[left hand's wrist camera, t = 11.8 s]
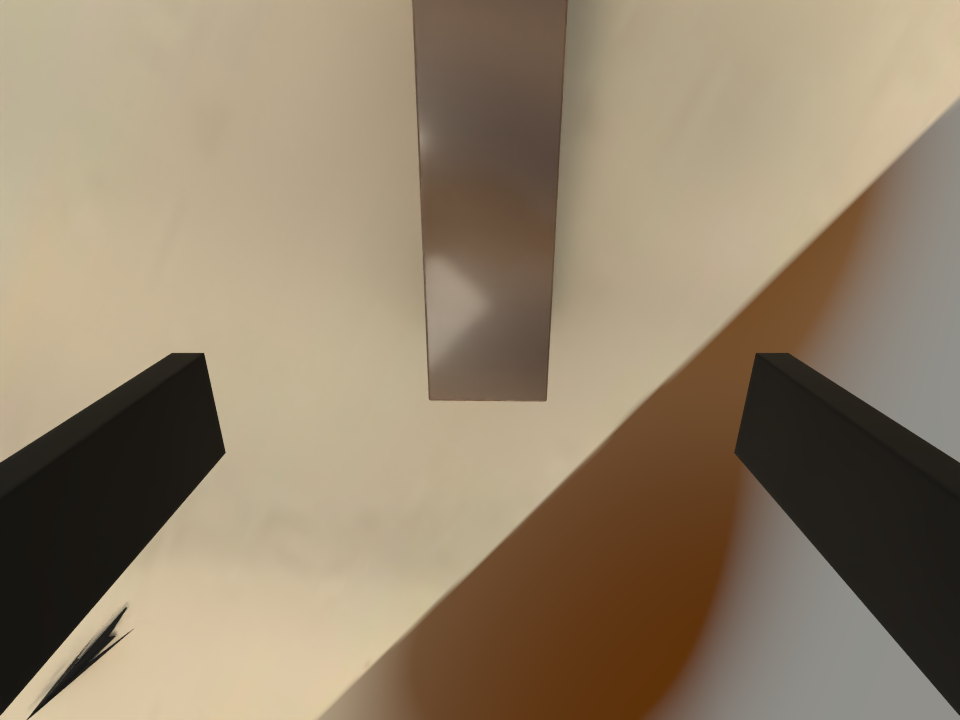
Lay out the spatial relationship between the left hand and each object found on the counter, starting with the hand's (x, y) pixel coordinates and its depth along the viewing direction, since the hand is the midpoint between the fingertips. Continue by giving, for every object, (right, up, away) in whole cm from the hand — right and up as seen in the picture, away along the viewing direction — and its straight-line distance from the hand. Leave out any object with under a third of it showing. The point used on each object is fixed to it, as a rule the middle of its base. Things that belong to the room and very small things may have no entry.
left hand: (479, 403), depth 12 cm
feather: (-35, -26, +29) cm, 52 cm away
